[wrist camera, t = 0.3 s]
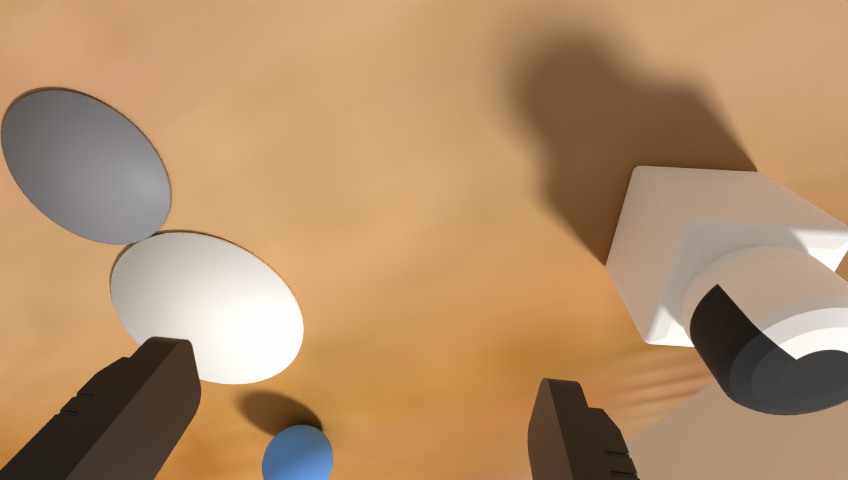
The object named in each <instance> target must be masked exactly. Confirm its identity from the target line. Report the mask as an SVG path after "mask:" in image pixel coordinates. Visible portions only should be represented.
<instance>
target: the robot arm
mask: <svg viewBox="0 0 848 480" xmlns="http://www.w3.org/2000/svg"><path fill="white" fill-rule="evenodd" d="M200 398H201V385H200V380H199V375H198V370H197V366H196V361H195V356H194V351H193V346H192V344H191V342H190V341H189V340H186V339H177V338H168V337H158V336H153V337H150V338H149V339H147V340H146V341H145V342H144V343H143V344H142V345H141V346H140V347H139V348H138V350H137V351H136V352H135V353H134V354H133V355H132V356H131V357H130V358H127V357H122V358H120V359H119V360H117V361H115V362H114V363H112V364H110V365H109V366H107V367H106V368H104V369H102V370H101V371H99V372H97V373H96V374H95V375H94V376H93V377H92V378H91V379H90V380H89V381H88V382H87V383H86V384H85V385H84V386H83V387H82V388H81V389H80V390H79V391H78V392H77V396H76V397H72V398H71V399H70V400H69V402H68V403H67V404H66V405H65V406H64V407H63V408H62V409H61V410H60V413H59V414H56V415H55V416H54V417H53V418H52V419H51V420H50V421H49V422H48V423H47V424H46V425H45V426H44V427H43V428H42V429H41V430H40V431H39V432H38V433H37V434H36V435H35V436H34V437H33V438H32V439H31V440H30V441H29V442H28V443H27V444H26V445H25V446H24V447H23V448H22V449H21V450H20V451H19V452H18V453H17V454H16V455H15V456H14V457H13V458H12V459H11V460H10V461H9V462H8V463H7V464H6V465H5V466H4V467H3V468H2V469H1V470H0V480H154V478H155V477H156V475H157V474H158V472H159V471H160V469H161V467H162V466H163V464H164V463H165V461H166V460H167V458H168V456H169V455H170V453H171V452H172V450H173V449H174V447H175V446H176V444H177V442H178V441H179V439H180V438H181V436H182V435H183V433H184V431H185V430H186V428H187V427H188V425H189V424H190V422H191V421H192V419H193V417H194V416H195V414H196V412H197V409H198V406H199V403H200ZM528 453H529V459H530V465H531V471H532V477H533V480H640V479H638V478H637V471H636V469H635V467H634V464H633V462H632V459H631V458H629V451H628V449H627V446H626V444H625V441H624V439H623V436H622V434H621V431H620V429H619V428H618V427H617V426H616V425H615V423H614V422H613V421H612V420H611V419H610V417H609V416H608V415H607V414H606V413H605V411H604V410H603V409H599V408H589V407H588V405H587V402H586V399H585V396H584V393H583V390H582V388H581V385H580V384H579V383H578V382H577V381H567V380H558V379H548V378H544V379H543V380H542V381H541V384H540V387H539V391H538V394H537V398H536V401H535V405H534V409H533V412H532V416H531V419H530V423H529V428H528Z"/></svg>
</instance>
